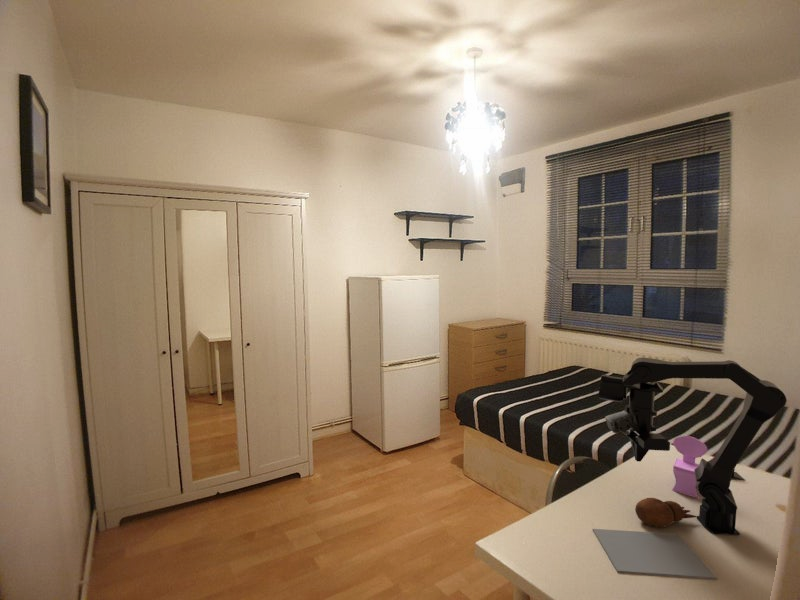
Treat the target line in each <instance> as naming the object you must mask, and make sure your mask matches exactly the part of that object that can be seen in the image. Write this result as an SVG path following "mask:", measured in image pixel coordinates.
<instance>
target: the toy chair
mask: <svg viewBox="0 0 800 600" xmlns="http://www.w3.org/2000/svg"><path fill="white" fill-rule="evenodd" d="M672 440H673V441H672V443H673V446H674V448H675V449H676V451H677V452H678V453H680V454H681V455H682V459H681V458H678V457H676V458H675V460H674V464H673V468H672V471H673V475H674V479H675V482H674V483H675V484H674V486H673V488H672V489H671V491H673V492H676V493H680V494H683V495H687V496H690V497H693V498H695V499H699V495H698V494H697V490H696V487H697V483H696V478H695V471H694V469H696V468H697V467H698V466H699V464H700V463H698V462H696V459H698V458H701V457H703V456H704V455H706V453H708V446H707V445H706V444H705V443H704V442H702V441H701V440H699V439H698V438H696V437H693V436H690V435H684V436H683V435H682V436H677V437H676V438H674V439H672Z"/></svg>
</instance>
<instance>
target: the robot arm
mask: <svg viewBox="0 0 800 600" xmlns="http://www.w3.org/2000/svg"><path fill="white" fill-rule="evenodd" d="M630 367H631V368H630V369H629V370H628V371H627V373H625V374H624V375H623V377H619V376H612V375H608V374H602V375H601V376H600V384H599V385H600V386H599V388H598V399H599V400H605V401H611V402H617V403H622V402H624V400H627V397H629V399H628V400H629V401H628V405H627V404H626V405H625V407H624V411H619V412H614V413H611V414H608V415H605V417H604V418H605V421H606V425H607V428H608V429H609V430H610V431H612V433H614V434H618V433H619V434H620V433H623V434H624V435H626V437H627V438H628V439H629V441H630V444H631V449H632V452H633V456H634V460H635V461H636V462H638V463H639V462H642V460H643V459H644V458H645V456H646V455H647V453H648V452H649V451H663V452H664V451H665V452H669V451H670V450H671V442H670V441H669V440H668V439H667V438H665V436H663V435H662V434H660V433H654V432H656V431H657V427H656V426H655V425H653V424H654V417H658V416H657V415H658V413H657V411H655V409H654V408H655V407H654V406H655V393H661V394H663V392H664V388H663V386H661V385H660V384H659V383H658V382H662V381H665V380H670V379H671V380H672V379H710V380H712V379H713V380H714V379H720V380H721V379H722V380H723V379H726V380H731V382H733V383H734V384H736V385H737V386H738V387H739V388H740V389H742V390H743V391H744V392H745V393H746V394H745V397H744V401H743V408H742V411H741V413H740V414H739V416H738V417H737V419H736V421H735V423H734V424H733V426H732V427H731V429H730V430H729V432H728V434H727V436H726V438H725V439H724V441H723V442H722V443H721V446H720V447H719V449H718V451H716V453H715V454H714V457H712V458H711V459H709V460H705V459H704V458H701V459H700V462H699V463H698V464H699V466H698V467H697V468H696V469H694V471H695V478H696V483H697V486H696V487H697V491H698V493H699V494H700V495H701V496H702V497H703V498H702V499H701V504H700V505H699V513H698V515H696V516H697V517H696V519H697V521H699V522H700V524H702V525H703V526H704V527H705V528H706V529H707V530H708V531H709V532H710V533H712V534H716V535H731V536H732V535H733V536H740V531H738V530H737V528H736V523H737V522H736V521H737V511H738V506H737V503H736V500H735V497H734V495H733V491H732V490H731V489H730V485H731V481H732V479H731V476H732V472H733V470H734V469H736V466H738V463H739V462H740V460H741V458H742V457H743V456H744V454H745V452H746V451H747V449H748V447H749V446H750V444H751V443H752V442H753V440H754V439H755V437H756V435H757V434H758V432H759V431H760V429H761V427H762V426H763V425H764V423H767V422H768V421H770V420H771V419H773V418H774V417H775V416H777V414H778V413H779V412H780V411H781V410H783V408H785V406H786V405H787V397H786V395H785V393H784V392H783V391H782V390H781V389H780V388H779V387H778V386H777V385H776V384H775V383H773V382H771V381H769V380H763V379H760V378H759V377H757V376H756V375H754V374H753V373H751V372H750V371H748V370H747V369H745V368H744V367H742V366H741V365H740V364H739V363H738V362H737V361H736V360H724V361H723V360H722V361H719V360H718V361H715V360H714V361H666V360H661V359H658V358H651V357H643V356H642V357H638V358H636V359H635V360H633V361H632V364H631V366H630ZM628 389H629V396H628Z"/></svg>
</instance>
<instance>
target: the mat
mask: <svg viewBox="0 0 800 600" xmlns="http://www.w3.org/2000/svg"><path fill="white" fill-rule="evenodd" d="M592 532H593V534H594V535H595V537H596V538H597V541H598V542H599V543H600V545H601V547H602V549H603V551H604V552H605V554H606V556H607V557H608V559H609V560H610V562H611V564H612V566H613V568H614V569H615V571H616V572H617V573H619V574H633V575H634V574H635V575H648V576H649V575H651V576H661V577H662V576H665V577H666V576H667V577H679V578H681V577H682V578H691V579H706V580H707V579H709V580H718V578H717V575H715V574H714V572H713V571H712V570H711V569H710V568H709V567H708V566H707V565H706V563H704V561H703V560H702V559H701V558H700V556H698V555H697V554H696V552H695V551H694V550H693V549H692V548H691V547H690V546H689V544H688V543H687V542H686V541H685V540H684V539H683V538H682V537H681V536H680V535H679V534H678V533H669V532H655V531H654V532H653V531H652V532H651V531H637V530H636V531H634V530H621V529H620V530H619V529H618V530H617V529H605V528H603V529H601V528H592Z"/></svg>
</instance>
